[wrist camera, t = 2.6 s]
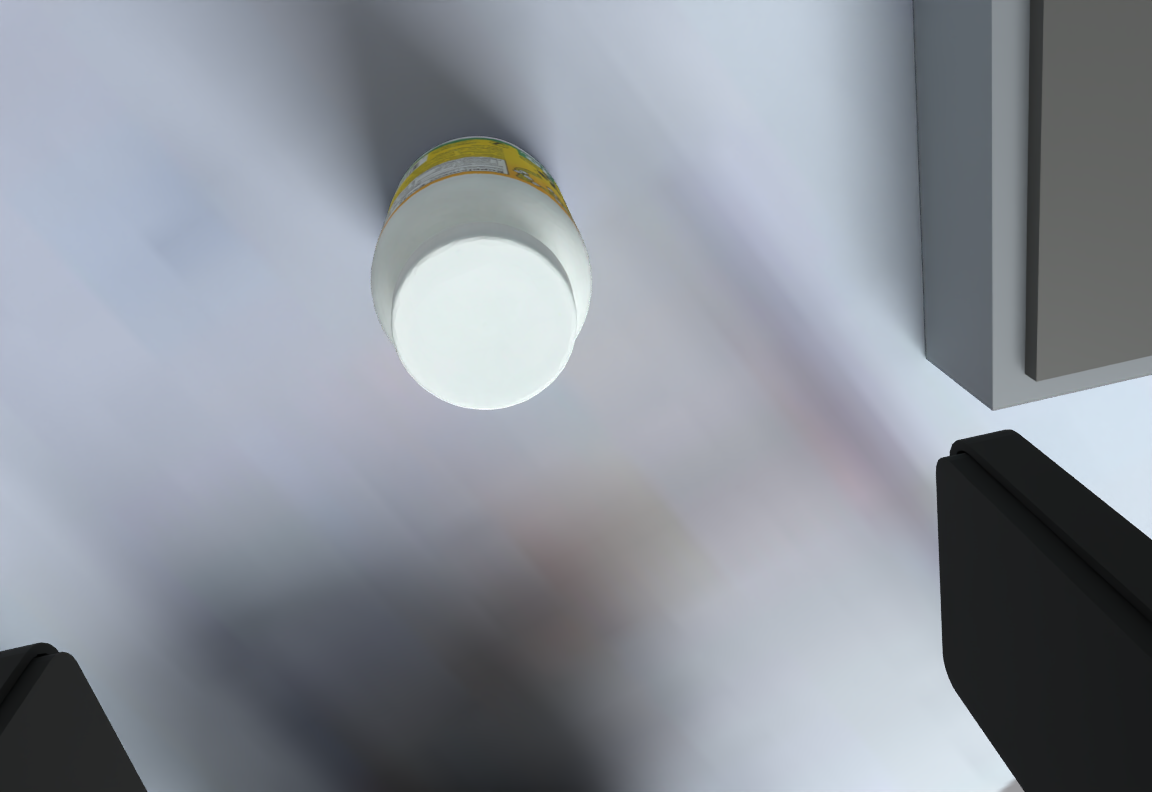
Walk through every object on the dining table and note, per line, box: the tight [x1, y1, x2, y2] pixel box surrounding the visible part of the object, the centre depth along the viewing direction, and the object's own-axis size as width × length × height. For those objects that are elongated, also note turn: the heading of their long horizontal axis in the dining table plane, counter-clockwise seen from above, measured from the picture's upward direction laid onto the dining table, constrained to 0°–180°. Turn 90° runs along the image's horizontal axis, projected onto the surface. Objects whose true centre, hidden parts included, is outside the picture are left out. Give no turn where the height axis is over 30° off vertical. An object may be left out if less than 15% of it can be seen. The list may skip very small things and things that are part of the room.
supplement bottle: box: [371, 136, 592, 410], centre depth 23 cm, size 5×5×10 cm
